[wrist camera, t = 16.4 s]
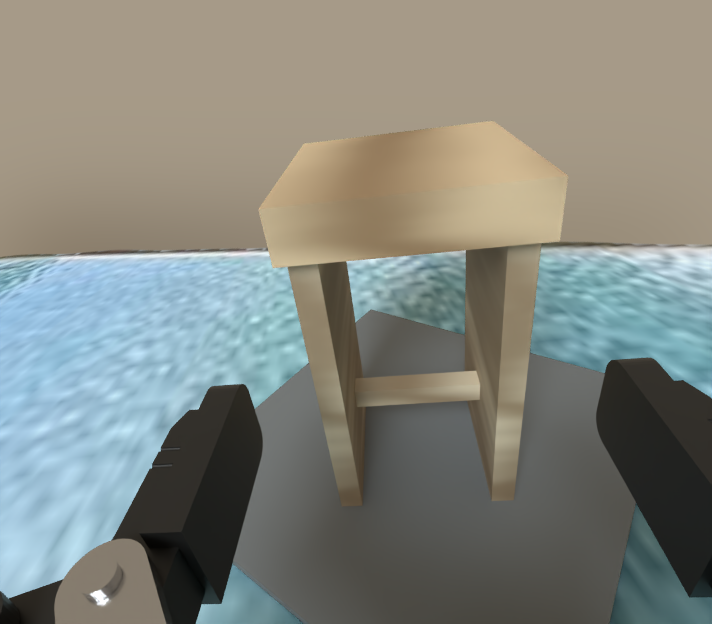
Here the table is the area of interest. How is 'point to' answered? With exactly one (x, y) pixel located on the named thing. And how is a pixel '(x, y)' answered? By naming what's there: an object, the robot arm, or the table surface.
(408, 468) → the charcoal mat
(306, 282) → the pine stool
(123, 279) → the table surface
